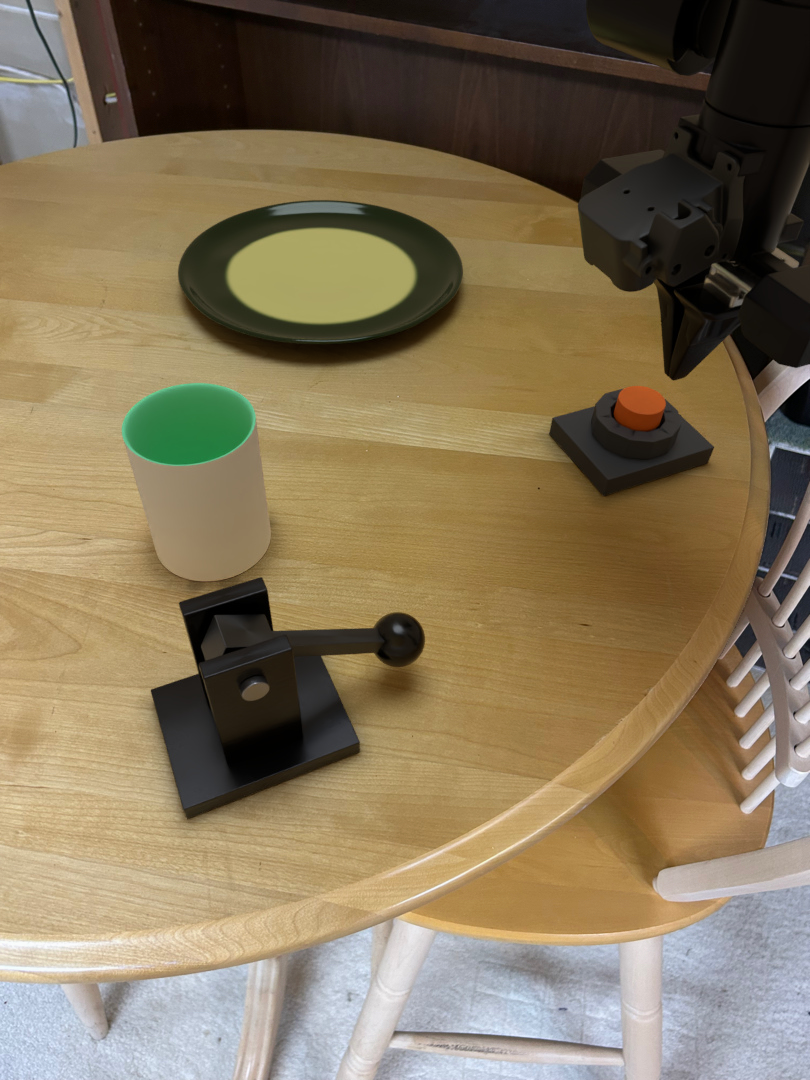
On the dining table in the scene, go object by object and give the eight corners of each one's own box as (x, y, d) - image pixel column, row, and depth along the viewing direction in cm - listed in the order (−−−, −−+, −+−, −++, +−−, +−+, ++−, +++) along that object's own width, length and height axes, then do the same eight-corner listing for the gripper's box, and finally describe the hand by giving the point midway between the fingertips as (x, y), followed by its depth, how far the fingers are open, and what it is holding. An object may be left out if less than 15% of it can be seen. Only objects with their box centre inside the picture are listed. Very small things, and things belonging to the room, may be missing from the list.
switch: (312, 646, 51) (303, 541, 44) (360, 752, 46) (358, 653, 39) (154, 700, 48) (116, 597, 41) (186, 819, 43) (150, 726, 36)
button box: (708, 463, 64) (722, 429, 62) (603, 496, 61) (613, 461, 59) (648, 405, 69) (659, 371, 66) (548, 433, 66) (556, 399, 63)
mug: (147, 473, 61) (116, 358, 54) (253, 456, 63) (237, 342, 55) (159, 591, 53) (124, 475, 46) (280, 568, 55) (265, 453, 48)
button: (669, 425, 62) (675, 407, 61) (631, 436, 61) (636, 418, 60) (642, 399, 64) (647, 381, 63) (604, 409, 63) (609, 391, 62)
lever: (397, 636, 50) (419, 600, 48) (419, 676, 48) (443, 640, 46) (195, 643, 42) (213, 601, 40) (211, 692, 40) (231, 650, 38)
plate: (482, 360, 73) (485, 336, 71) (168, 370, 70) (162, 345, 68) (441, 217, 92) (443, 196, 90) (193, 221, 89) (189, 199, 87)
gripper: (521, 61, 42) (488, 325, 53) (769, 216, 30) (659, 509, 42) (694, 41, 45) (628, 293, 56) (975, 173, 34) (821, 456, 45)
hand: (674, 376), depth 50 cm, fingers closed
